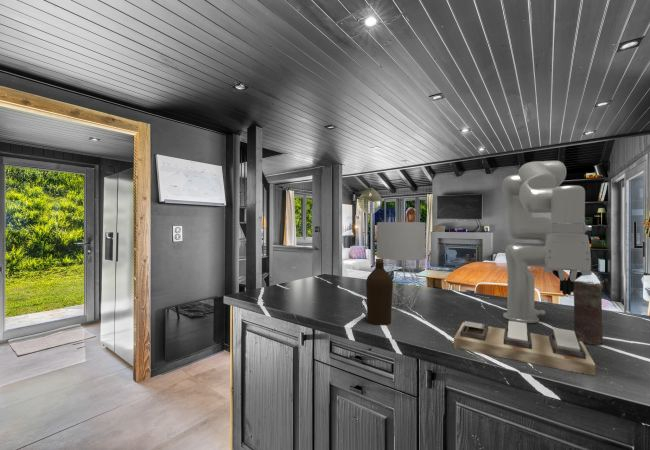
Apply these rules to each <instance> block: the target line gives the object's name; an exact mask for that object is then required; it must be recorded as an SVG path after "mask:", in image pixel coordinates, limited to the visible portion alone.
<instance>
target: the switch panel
mask: <svg viewBox="0 0 650 450" xmlns="http://www.w3.org/2000/svg"><path fill="white" fill-rule="evenodd" d="M466 321H467V322H473V323H479V324H485V329H482V328H476V327H470V326H465V321H463V322H462V323H461V325H460V327H459V329H458V331H456V334H455V335H454V337H453V348H455V349H460V350H465V351H470V352H475V353H480V354H483V355H490V356H495V357H500V358H505V359H509V360H512V361H513V360H514V361H517V362H518V361H519V362H523V363H528V364H533V365H539V366H543V367H548V368H553V369H558V370H562V371H568V372H572V371H573V372H572V373H577V372H578V374H582V373H584V374H583V375H587V374H589V375H588V376H592V375H594V376H593V377H596V363H595V362H594V360H593V357H592V356H591V355H590V353H589V351H588V350H587V348H586V346H585V343H583V342H582V341H580V340H578V338H577V341H578V344H579V347H580V352H578V351H572V350H566V349H560V348H557V346H556V342H555V337H554V333H553V334H552V333H548V335H543V334H539V333H533V332H531V330H528V329H527V340H528V343H526V342H520V341H515V340H509V339H508V327H507V326H505V327H504V328H501V327H495V326H489V324H488V323H483V322H476V321H470V320H466Z"/></svg>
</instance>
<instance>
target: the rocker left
mask: <svg viewBox="0 0 650 450" xmlns="http://www.w3.org/2000/svg"><path fill="white" fill-rule="evenodd" d="M467 321H468V320H465V321H464V323H465V326H470V327H476V328H482V329H485V324H486V323H483V324H479V323H480V322H477V323H473V322H474V321H471V322H467Z"/></svg>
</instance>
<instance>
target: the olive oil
mask: <svg viewBox="0 0 650 450" xmlns="http://www.w3.org/2000/svg"><path fill="white" fill-rule="evenodd" d="M384 260H385V259H381V258H375V262H374V265H375V267H374V269H372V271H371V272H370V274H368V276H367V278H366V281H365V282H366V283H365V290H366V291H365V292H366V319H367V323H369V324H371V325H376V326H377V325H378V326H379V325H380V326H384V325H385V326H386V325H389V324H391V322H392V309H393V304H392V303H393V302H392V301H393V293H394V285H393V284H394V281H393V278H392V276H391V274H390V273H389V272H388V271H387V270H385V264H384V262H385V261H384ZM386 271H387V272H386ZM389 274H390V275H389Z"/></svg>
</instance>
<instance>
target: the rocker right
mask: <svg viewBox="0 0 650 450" xmlns="http://www.w3.org/2000/svg"><path fill="white" fill-rule="evenodd" d="M553 335H554V337H555V342H556V346H557V348H560V349H566V350H572V351H578V352H580V347H579V344H578V341H577V338H576V335H575V332H574V330H570V329H565V328H557V327H553Z"/></svg>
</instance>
